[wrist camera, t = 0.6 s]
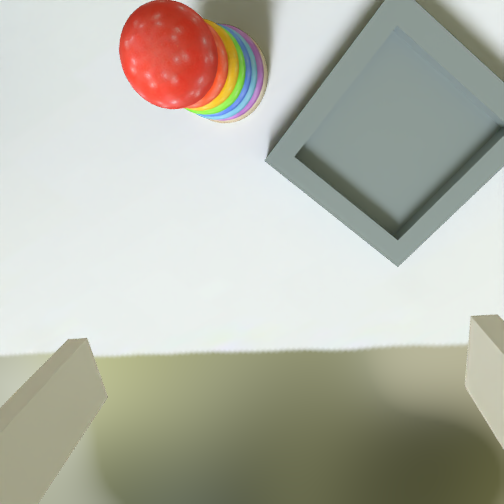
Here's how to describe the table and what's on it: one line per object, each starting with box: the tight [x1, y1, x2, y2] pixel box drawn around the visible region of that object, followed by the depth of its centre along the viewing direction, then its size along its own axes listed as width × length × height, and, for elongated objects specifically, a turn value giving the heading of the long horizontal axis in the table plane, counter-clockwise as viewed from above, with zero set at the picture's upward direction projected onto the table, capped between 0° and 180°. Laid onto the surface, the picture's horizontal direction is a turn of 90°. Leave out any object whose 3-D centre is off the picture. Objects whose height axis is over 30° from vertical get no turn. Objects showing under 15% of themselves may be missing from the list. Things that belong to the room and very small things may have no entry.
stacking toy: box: [119, 0, 268, 123], centre depth 25 cm, size 8×8×19 cm
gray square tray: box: [265, 0, 504, 267], centre depth 33 cm, size 17×17×2 cm
